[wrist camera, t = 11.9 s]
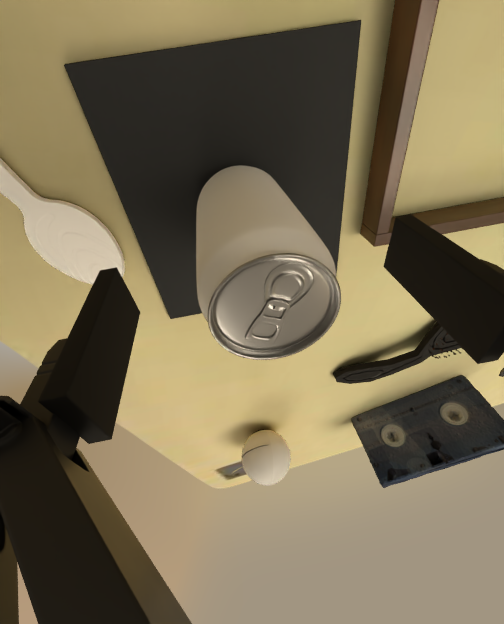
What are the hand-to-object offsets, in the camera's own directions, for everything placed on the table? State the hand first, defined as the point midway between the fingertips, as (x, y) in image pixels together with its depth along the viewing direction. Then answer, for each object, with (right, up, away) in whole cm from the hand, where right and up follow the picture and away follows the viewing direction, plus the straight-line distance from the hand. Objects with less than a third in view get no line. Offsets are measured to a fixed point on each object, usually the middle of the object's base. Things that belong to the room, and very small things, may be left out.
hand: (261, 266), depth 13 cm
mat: (-1, +6, +7) cm, 9 cm away
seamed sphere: (0, -22, +31) cm, 38 cm away
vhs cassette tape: (+24, -16, +31) cm, 43 cm away
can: (-1, +5, +7) cm, 9 cm away
